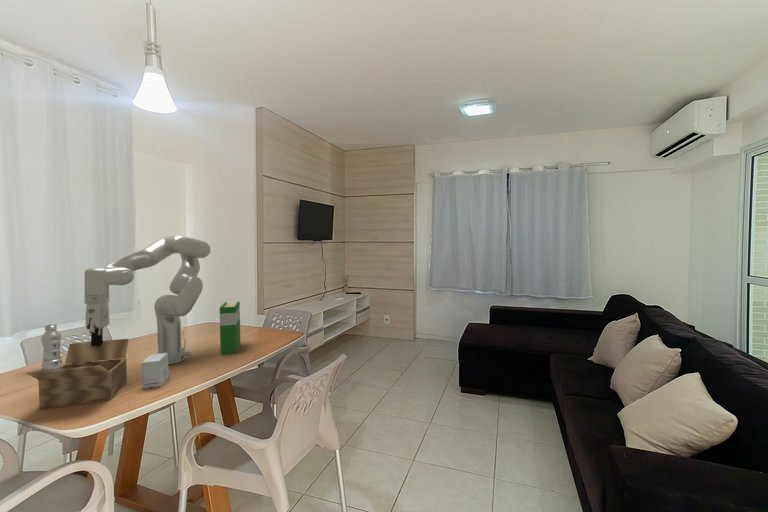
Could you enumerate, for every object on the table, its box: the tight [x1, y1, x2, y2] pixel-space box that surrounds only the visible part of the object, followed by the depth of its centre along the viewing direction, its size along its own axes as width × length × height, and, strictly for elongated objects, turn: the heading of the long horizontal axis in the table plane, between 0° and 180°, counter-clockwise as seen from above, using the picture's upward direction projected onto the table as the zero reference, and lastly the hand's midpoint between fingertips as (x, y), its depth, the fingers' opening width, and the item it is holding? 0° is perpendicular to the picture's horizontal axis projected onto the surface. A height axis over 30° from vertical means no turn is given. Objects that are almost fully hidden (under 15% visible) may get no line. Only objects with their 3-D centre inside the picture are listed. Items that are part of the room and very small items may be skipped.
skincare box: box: [141, 353, 170, 389], centre depth 138 cm, size 10×6×10 cm, turn 16°
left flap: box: [26, 365, 109, 380], centre depth 116 cm, size 19×8×1 cm
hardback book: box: [219, 301, 241, 356], centre depth 181 cm, size 18×7×24 cm, turn 17°
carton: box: [37, 357, 128, 410], centre depth 127 cm, size 20×16×10 cm
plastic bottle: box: [40, 324, 63, 371], centre depth 153 cm, size 6×7×20 cm
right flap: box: [64, 338, 129, 364], centre depth 137 cm, size 19×8×1 cm
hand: (96, 345), depth 137 cm, fingers closed
